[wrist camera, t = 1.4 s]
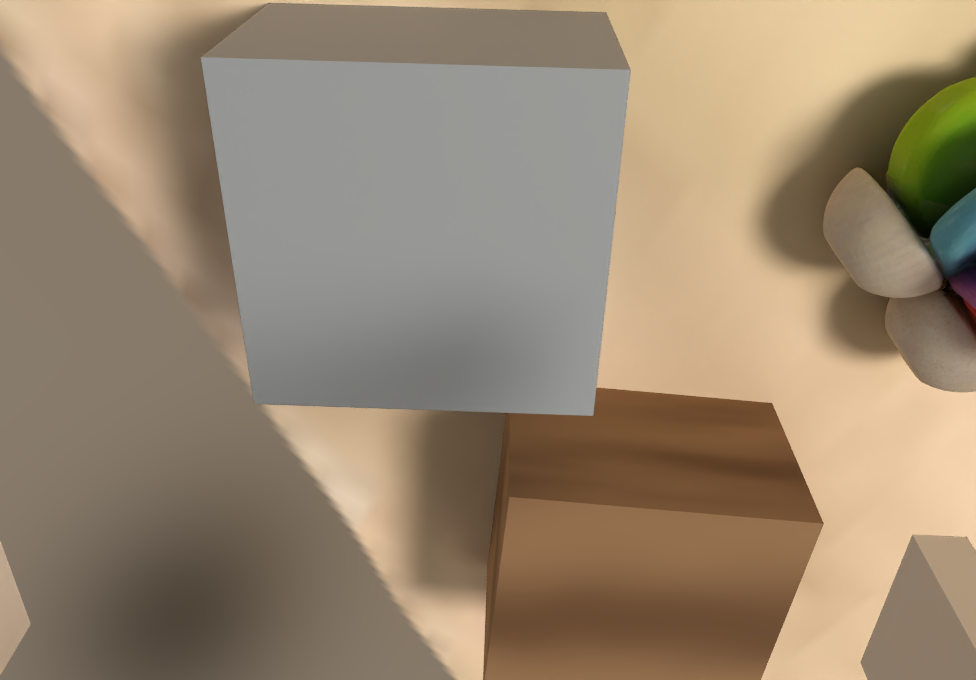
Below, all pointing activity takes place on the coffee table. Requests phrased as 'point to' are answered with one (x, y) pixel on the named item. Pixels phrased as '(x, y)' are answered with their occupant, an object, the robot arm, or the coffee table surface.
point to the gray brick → (420, 202)
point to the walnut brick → (645, 541)
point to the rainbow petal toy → (920, 238)
